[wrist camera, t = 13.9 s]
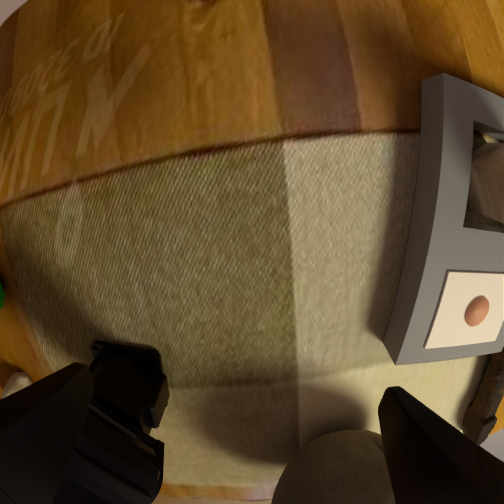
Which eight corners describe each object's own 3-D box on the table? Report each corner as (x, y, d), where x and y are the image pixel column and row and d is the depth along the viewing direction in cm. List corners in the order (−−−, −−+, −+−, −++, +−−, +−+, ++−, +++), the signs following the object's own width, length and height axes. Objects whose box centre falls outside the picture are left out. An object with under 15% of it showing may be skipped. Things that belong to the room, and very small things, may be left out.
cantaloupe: (244, 431, 26) (234, 570, 12) (386, 381, 24) (443, 522, 9) (295, 485, 30) (300, 584, 16) (403, 449, 27) (436, 547, 13)
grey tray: (382, 342, 22) (397, 368, 19) (421, 80, 16) (446, 71, 13) (485, 335, 22) (503, 354, 19) (526, 123, 16) (552, 124, 13)
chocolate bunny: (3, 381, 27) (-35, 426, 18) (21, 366, 25) (-24, 419, 16) (30, 411, 28) (-3, 459, 19) (53, 401, 27) (15, 458, 17)
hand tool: (493, 308, 21) (520, 332, 17) (517, 301, 21) (544, 323, 17) (445, 434, 27) (457, 460, 23) (468, 425, 27) (482, 449, 23)
